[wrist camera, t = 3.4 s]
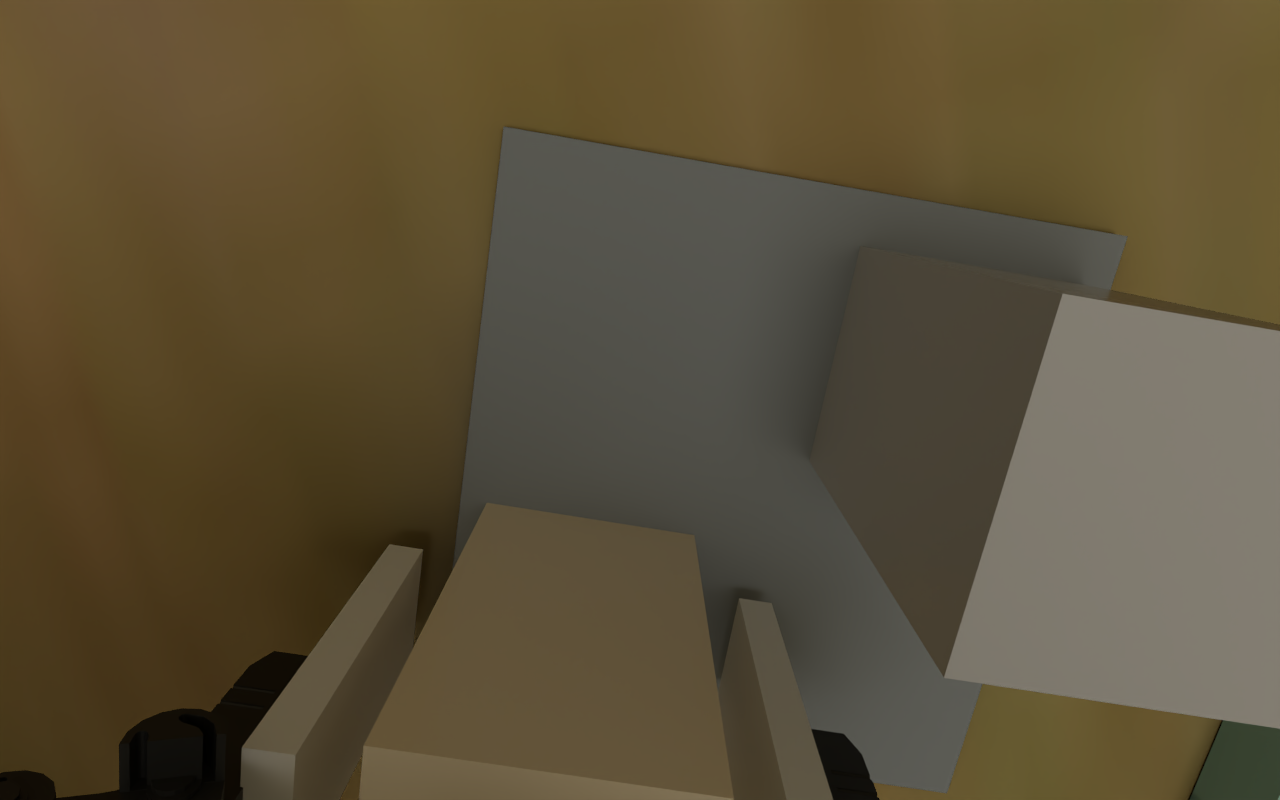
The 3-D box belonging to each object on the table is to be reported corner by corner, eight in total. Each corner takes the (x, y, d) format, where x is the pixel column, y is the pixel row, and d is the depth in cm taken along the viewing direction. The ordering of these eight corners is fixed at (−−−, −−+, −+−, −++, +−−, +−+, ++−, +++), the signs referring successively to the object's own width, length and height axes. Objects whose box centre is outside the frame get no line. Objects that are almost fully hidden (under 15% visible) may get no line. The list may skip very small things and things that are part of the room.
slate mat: (439, 707, 19) (435, 718, 19) (507, 128, 16) (503, 126, 15) (940, 781, 20) (946, 792, 20) (1116, 235, 16) (1127, 236, 16)
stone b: (808, 461, 17) (943, 677, 10) (860, 245, 16) (1062, 293, 8) (1016, 494, 17) (1313, 733, 10) (1082, 284, 16) (1484, 366, 8)
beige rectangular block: (464, 683, 19) (338, 1026, 11) (486, 502, 18) (363, 745, 10) (658, 712, 19) (669, 1069, 11) (694, 535, 18) (734, 798, 10)
